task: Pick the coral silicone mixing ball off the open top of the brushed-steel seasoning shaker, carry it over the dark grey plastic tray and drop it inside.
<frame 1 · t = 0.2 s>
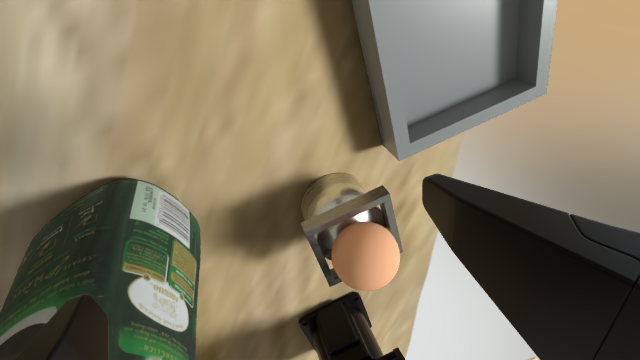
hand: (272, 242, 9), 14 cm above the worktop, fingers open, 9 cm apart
tray: (446, 20, 23), on the worktop
ball: (352, 233, 25), point 4 cm above the worktop, touching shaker
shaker: (332, 201, 28), on the worktop
coffee jar: (125, 232, 24), on the worktop
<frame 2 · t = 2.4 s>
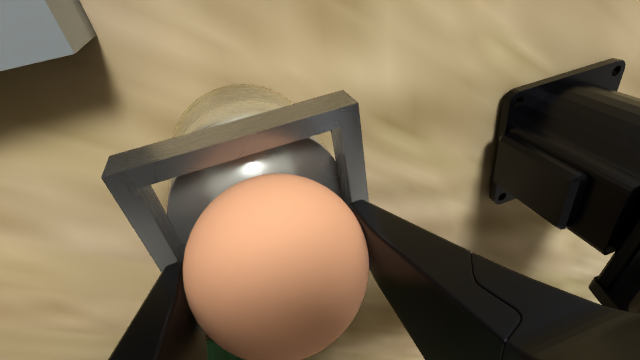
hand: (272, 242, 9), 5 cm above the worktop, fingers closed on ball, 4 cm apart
ball: (262, 211, 10), point 4 cm above the worktop, touching gripper, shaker
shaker: (244, 151, 14), on the worktop
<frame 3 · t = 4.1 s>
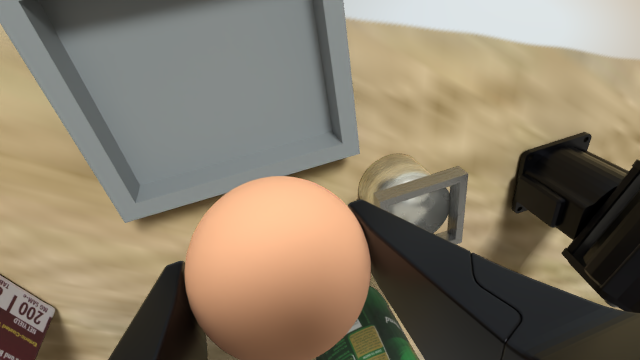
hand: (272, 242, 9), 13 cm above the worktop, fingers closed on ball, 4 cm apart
tray: (213, 74, 19), on the worktop
ball: (264, 213, 10), point 12 cm above the worktop, touching gripper
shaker: (390, 184, 27), on the worktop
coffee jar: (348, 314, 34), on the worktop
when the fingers open (4 cm above the worktop, at t = 5.9 s): ball drops 2 cm, resting on tray.
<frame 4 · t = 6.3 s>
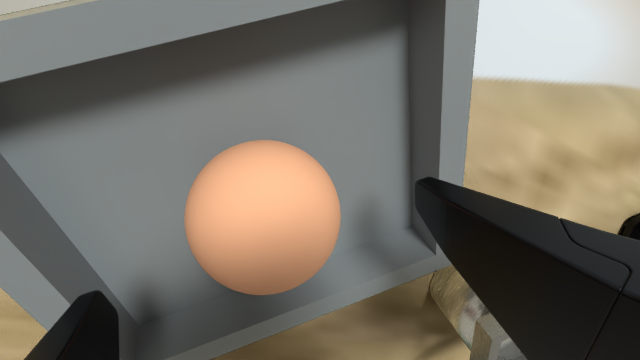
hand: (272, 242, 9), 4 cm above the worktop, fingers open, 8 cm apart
tray: (249, 168, 12), on the worktop
ball: (252, 177, 12), point 1 cm above the worktop, touching tray
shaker: (469, 272, 20), on the worktop
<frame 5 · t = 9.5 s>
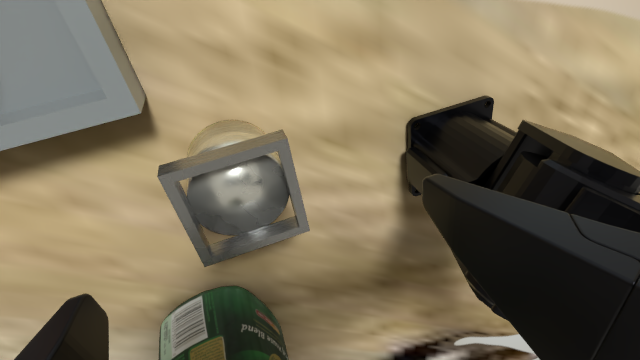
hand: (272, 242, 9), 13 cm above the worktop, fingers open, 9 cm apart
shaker: (232, 160, 21), on the worktop
coffee jar: (224, 319, 29), on the worktop
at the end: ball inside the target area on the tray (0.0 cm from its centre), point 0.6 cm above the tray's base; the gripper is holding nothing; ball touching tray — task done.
